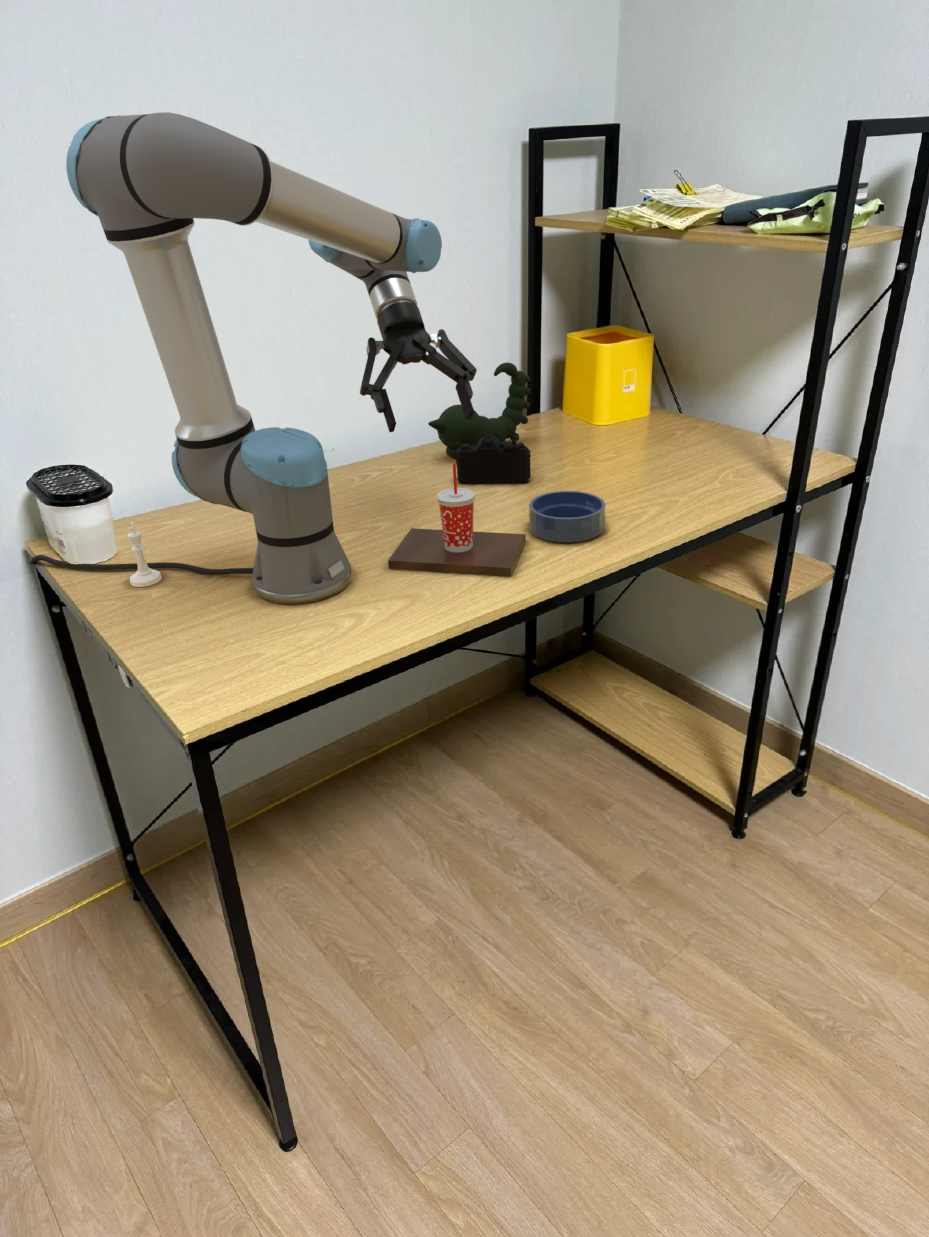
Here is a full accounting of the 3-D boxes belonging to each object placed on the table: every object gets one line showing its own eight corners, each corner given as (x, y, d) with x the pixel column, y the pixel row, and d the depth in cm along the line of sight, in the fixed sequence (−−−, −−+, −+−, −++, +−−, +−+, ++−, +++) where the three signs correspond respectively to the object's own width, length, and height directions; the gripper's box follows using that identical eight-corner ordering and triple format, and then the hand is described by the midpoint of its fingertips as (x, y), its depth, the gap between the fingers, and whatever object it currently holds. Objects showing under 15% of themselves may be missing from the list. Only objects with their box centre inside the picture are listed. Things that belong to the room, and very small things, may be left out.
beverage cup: (435, 542, 144) (429, 461, 137) (470, 536, 146) (466, 455, 139) (446, 557, 139) (441, 473, 132) (482, 550, 141) (479, 467, 134)
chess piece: (129, 589, 138) (114, 530, 133) (130, 576, 142) (115, 519, 137) (161, 583, 139) (147, 526, 134) (162, 571, 143) (148, 514, 138)
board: (388, 568, 140) (387, 560, 139) (411, 536, 151) (411, 528, 150) (511, 576, 135) (511, 567, 135) (525, 542, 146) (525, 534, 146)
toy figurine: (509, 442, 198) (415, 457, 185) (513, 357, 190) (416, 366, 177) (535, 452, 192) (440, 468, 178) (540, 364, 183) (441, 374, 170)
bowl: (523, 542, 146) (523, 517, 144) (536, 512, 157) (536, 489, 155) (600, 546, 144) (601, 520, 141) (607, 516, 154) (608, 492, 152)
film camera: (532, 468, 178) (531, 425, 174) (530, 485, 170) (529, 440, 165) (458, 469, 180) (456, 426, 175) (453, 485, 171) (450, 441, 167)
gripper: (460, 319, 157) (495, 422, 151) (324, 335, 149) (356, 444, 144) (470, 292, 150) (507, 399, 145) (328, 307, 142) (362, 421, 137)
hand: (432, 422), depth 144 cm, fingers open, 13 cm apart
